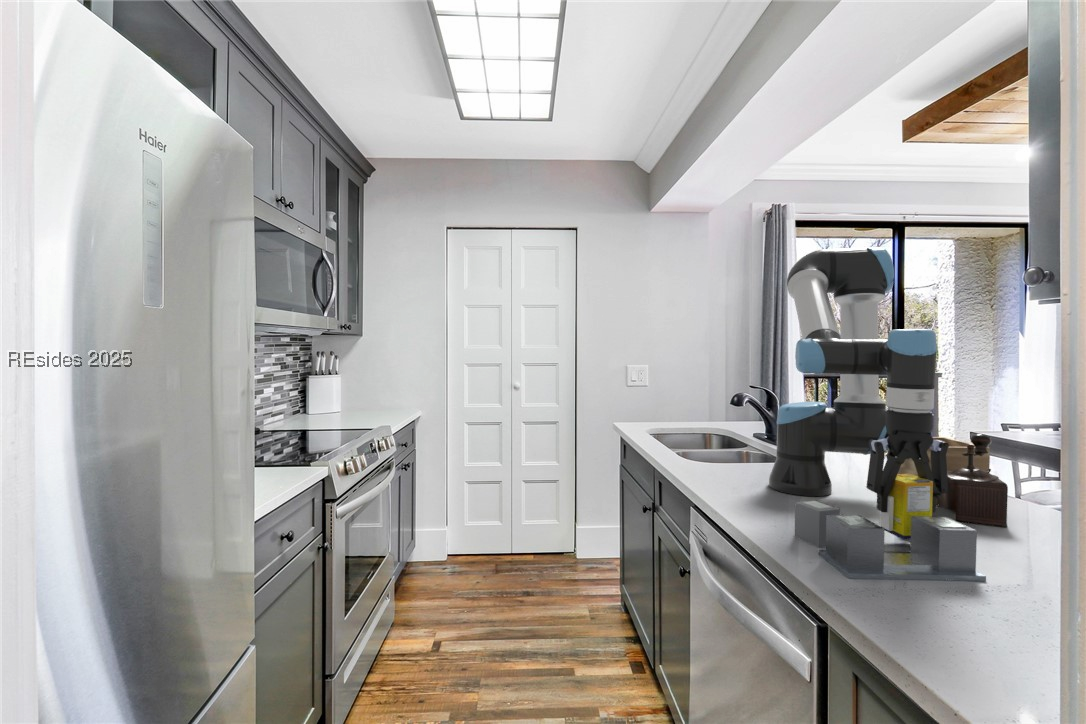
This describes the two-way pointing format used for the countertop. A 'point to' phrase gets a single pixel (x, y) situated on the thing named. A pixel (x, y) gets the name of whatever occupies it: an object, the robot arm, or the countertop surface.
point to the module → (812, 521)
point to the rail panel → (932, 555)
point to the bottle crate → (950, 458)
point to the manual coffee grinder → (976, 490)
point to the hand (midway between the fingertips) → (905, 528)
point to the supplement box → (910, 502)
